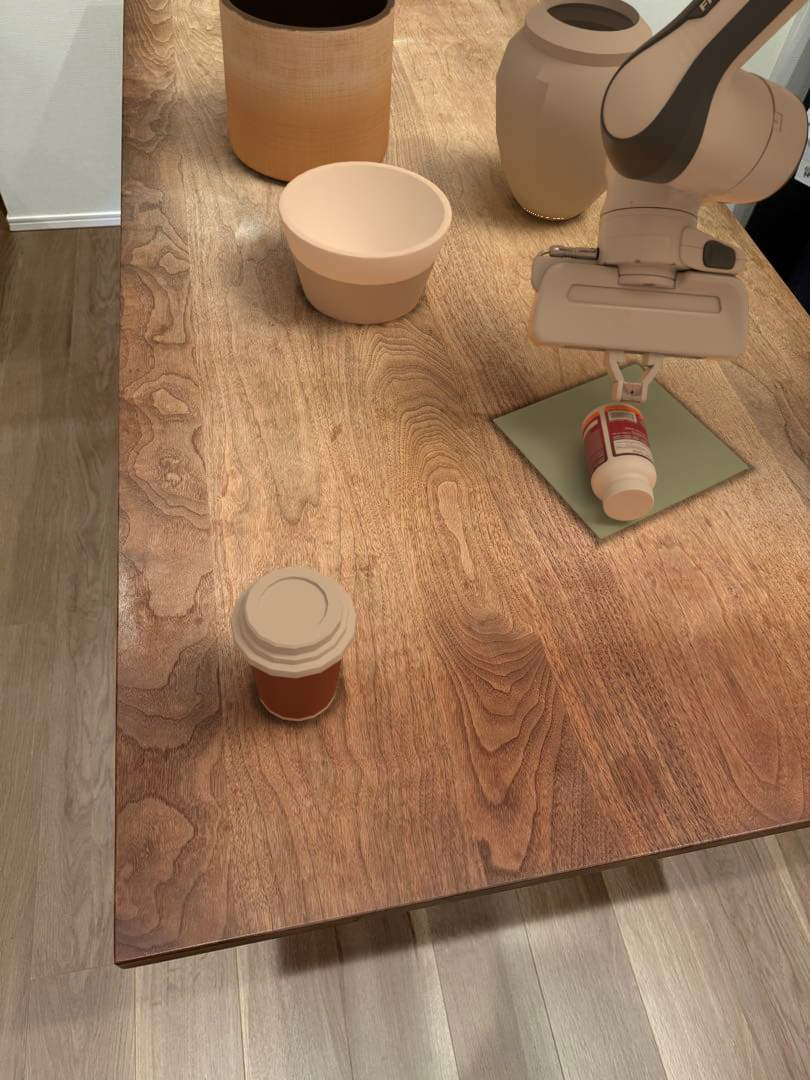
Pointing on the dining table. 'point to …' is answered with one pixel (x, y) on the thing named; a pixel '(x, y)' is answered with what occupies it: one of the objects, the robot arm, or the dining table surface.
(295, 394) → the dining table surface
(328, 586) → the coffee cup
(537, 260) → the robot arm
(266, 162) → the planter
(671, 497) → the mat
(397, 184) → the bowl
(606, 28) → the vase
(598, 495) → the pill bottle
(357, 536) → the dining table surface
